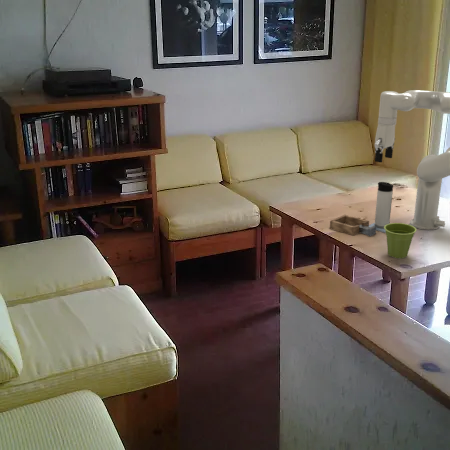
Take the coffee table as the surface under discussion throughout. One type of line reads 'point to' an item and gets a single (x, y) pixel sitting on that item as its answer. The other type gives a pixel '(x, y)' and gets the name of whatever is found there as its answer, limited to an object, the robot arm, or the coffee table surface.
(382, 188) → the travel mug
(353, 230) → the wooden tray
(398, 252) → the plant pot
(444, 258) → the coffee table surface
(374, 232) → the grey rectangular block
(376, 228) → the pad
